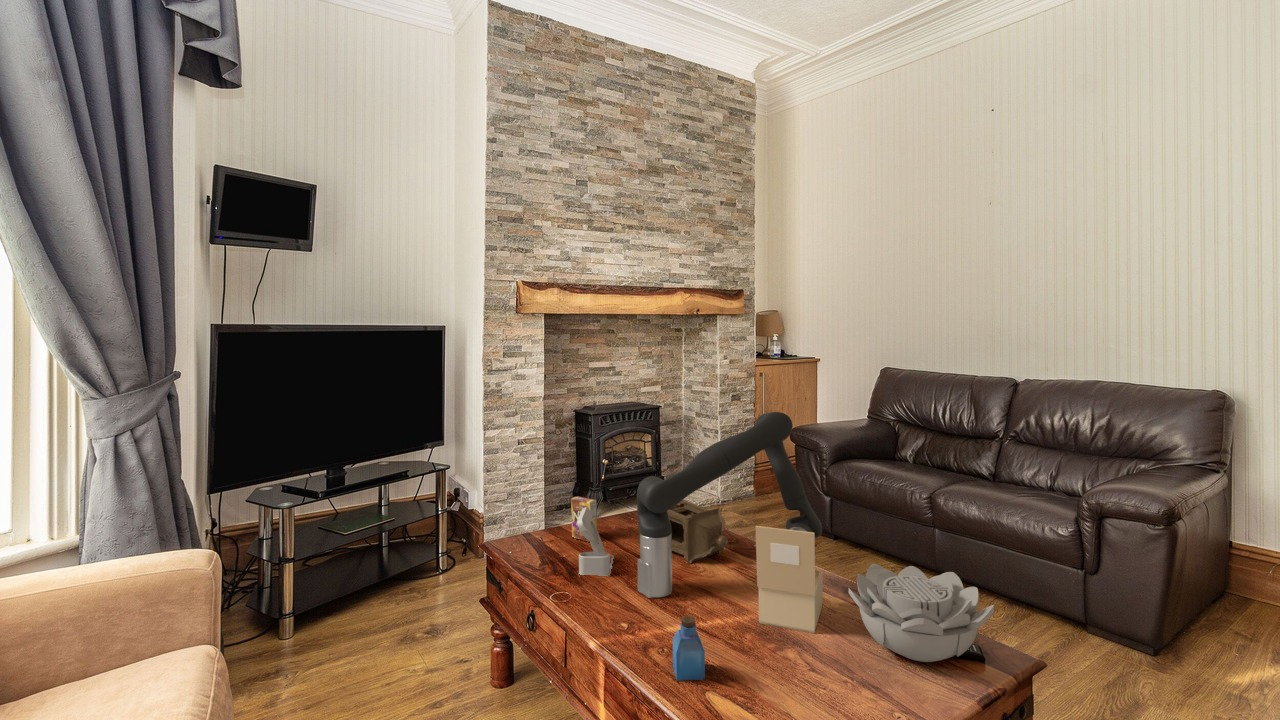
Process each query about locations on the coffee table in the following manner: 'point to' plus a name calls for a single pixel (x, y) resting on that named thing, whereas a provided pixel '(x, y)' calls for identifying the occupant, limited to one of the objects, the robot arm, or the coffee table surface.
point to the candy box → (577, 507)
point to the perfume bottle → (688, 652)
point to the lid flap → (785, 560)
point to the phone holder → (599, 558)
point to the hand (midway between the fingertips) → (786, 564)
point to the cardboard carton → (791, 607)
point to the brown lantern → (696, 530)
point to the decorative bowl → (919, 612)
